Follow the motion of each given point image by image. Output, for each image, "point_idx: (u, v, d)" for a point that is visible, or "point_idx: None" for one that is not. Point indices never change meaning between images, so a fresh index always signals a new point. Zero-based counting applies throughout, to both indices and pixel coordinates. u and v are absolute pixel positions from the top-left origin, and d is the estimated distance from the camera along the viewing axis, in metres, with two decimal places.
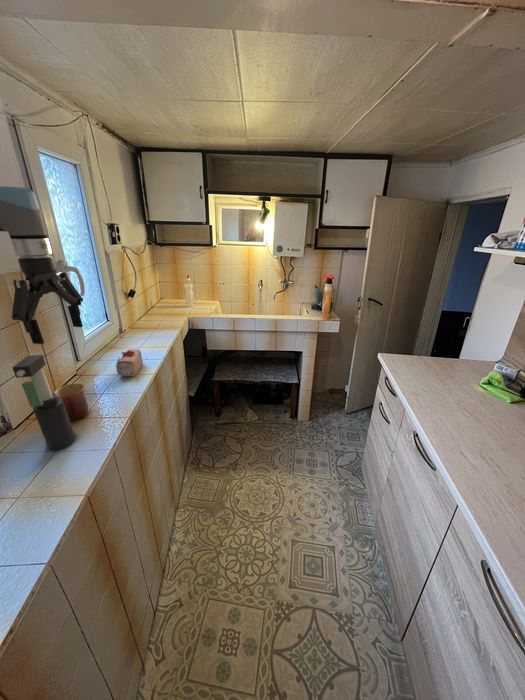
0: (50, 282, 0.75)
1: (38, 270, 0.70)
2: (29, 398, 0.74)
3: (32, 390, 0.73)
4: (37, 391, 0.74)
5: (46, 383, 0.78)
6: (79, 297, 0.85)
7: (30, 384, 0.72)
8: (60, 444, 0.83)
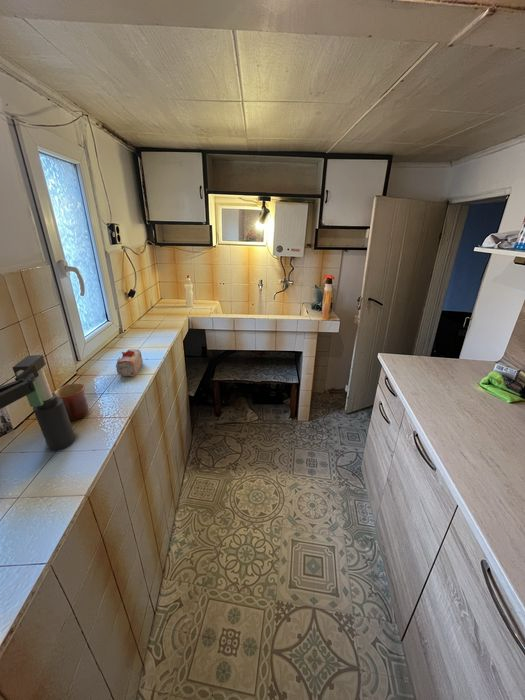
0: None
1: None
2: (29, 398, 0.74)
3: None
4: (37, 391, 0.74)
5: (46, 383, 0.78)
6: None
7: None
8: (60, 444, 0.83)
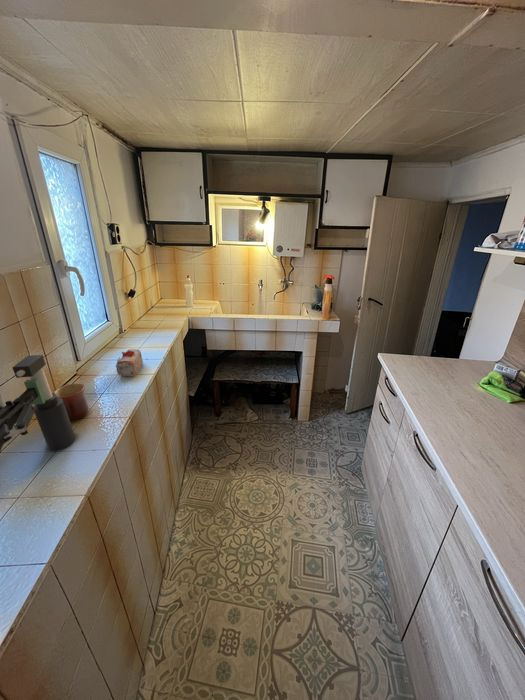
0: None
1: None
2: None
3: None
4: (39, 389, 0.75)
5: (46, 383, 0.78)
6: None
7: (32, 382, 0.73)
8: (60, 444, 0.83)
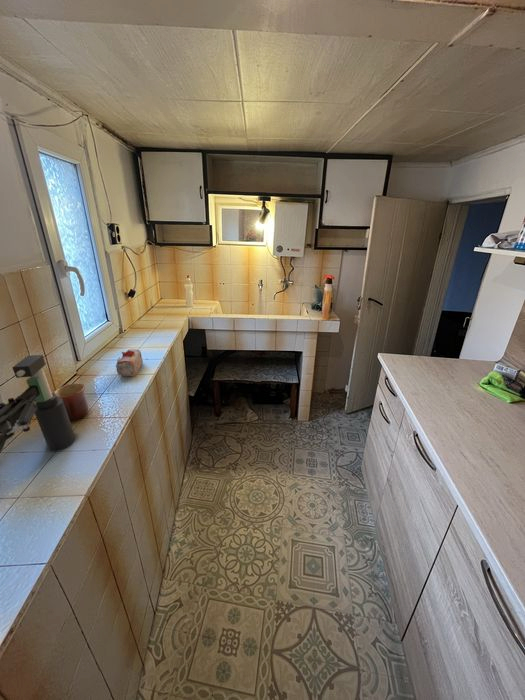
0: None
1: None
2: None
3: None
4: (41, 387, 0.76)
5: (46, 383, 0.78)
6: None
7: (34, 380, 0.74)
8: (60, 444, 0.83)
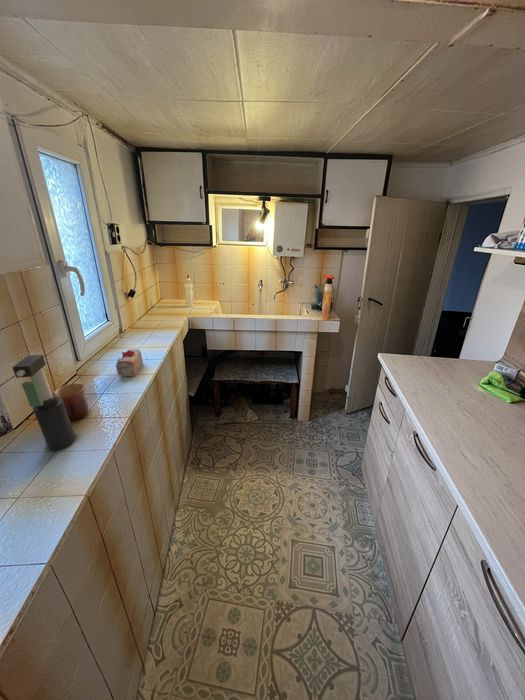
0: None
1: None
2: (29, 398, 0.74)
3: (32, 390, 0.73)
4: (37, 391, 0.74)
5: (46, 383, 0.78)
6: None
7: (30, 384, 0.72)
8: (60, 444, 0.83)
